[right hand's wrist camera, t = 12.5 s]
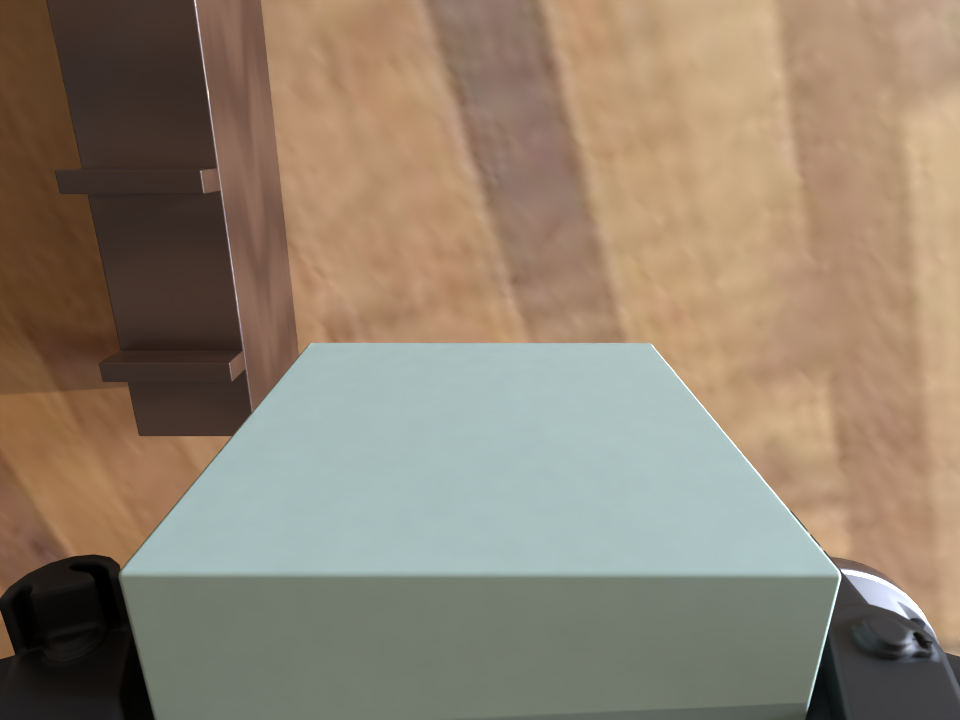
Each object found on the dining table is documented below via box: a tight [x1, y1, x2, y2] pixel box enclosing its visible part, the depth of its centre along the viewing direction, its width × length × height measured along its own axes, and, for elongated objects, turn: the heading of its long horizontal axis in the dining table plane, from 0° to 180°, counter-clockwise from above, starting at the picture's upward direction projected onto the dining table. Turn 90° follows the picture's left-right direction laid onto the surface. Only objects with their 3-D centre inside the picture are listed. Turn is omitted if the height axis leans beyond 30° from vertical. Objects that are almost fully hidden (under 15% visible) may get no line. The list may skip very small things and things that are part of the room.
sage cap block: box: [119, 343, 841, 720], centre depth 10 cm, size 6×7×7 cm
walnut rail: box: [46, 0, 299, 436], centre depth 24 cm, size 28×5×8 cm, turn 0°
